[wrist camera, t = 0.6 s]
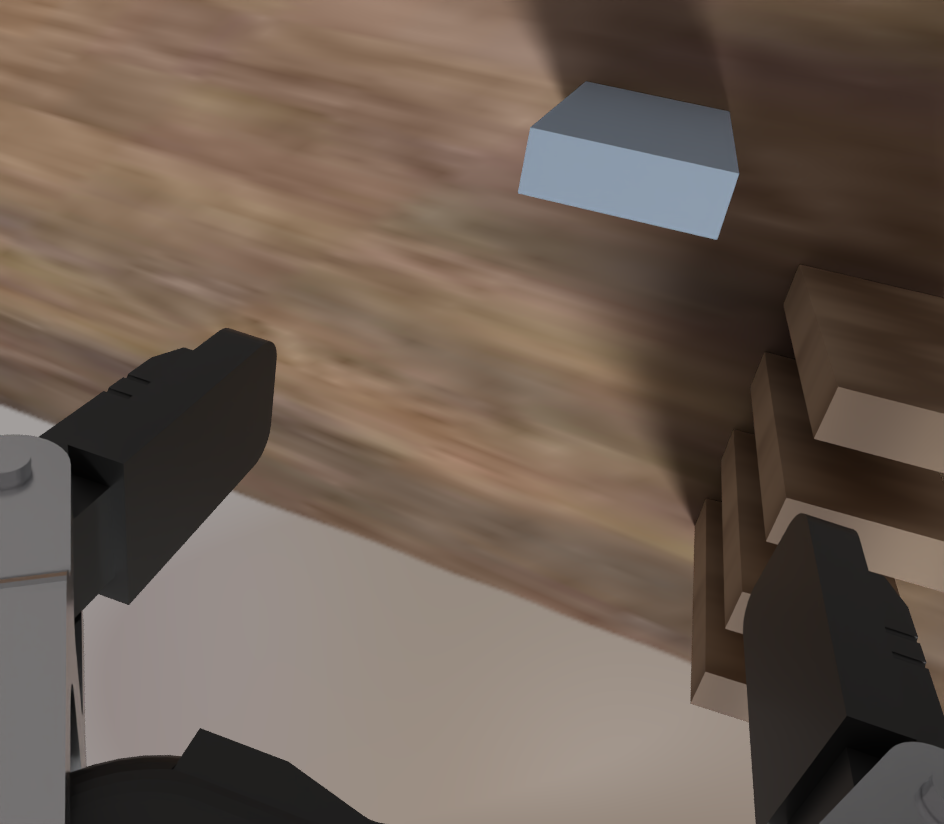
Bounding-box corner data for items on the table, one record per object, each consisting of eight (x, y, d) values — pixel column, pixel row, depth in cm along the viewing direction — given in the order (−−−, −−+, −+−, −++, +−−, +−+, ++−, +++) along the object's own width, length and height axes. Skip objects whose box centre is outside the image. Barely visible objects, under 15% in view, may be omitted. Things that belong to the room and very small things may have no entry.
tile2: (943, 297, 27) (1046, 440, 19) (922, 338, 28) (1013, 491, 20) (799, 264, 28) (838, 386, 20) (783, 304, 29) (814, 438, 21)
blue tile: (729, 111, 26) (739, 173, 18) (714, 159, 27) (717, 240, 19) (585, 81, 27) (530, 127, 19) (575, 128, 28) (517, 193, 20)
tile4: (858, 462, 31) (913, 642, 23) (842, 494, 32) (890, 679, 24) (733, 429, 32) (742, 591, 23) (720, 460, 33) (724, 628, 24)
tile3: (898, 385, 29) (974, 549, 21) (879, 421, 30) (946, 593, 22) (764, 351, 30) (786, 497, 22) (750, 387, 31) (766, 541, 22)
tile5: (823, 531, 33) (863, 720, 25) (809, 559, 34) (842, 752, 25) (706, 498, 34) (705, 671, 25) (694, 526, 35) (690, 703, 26)
